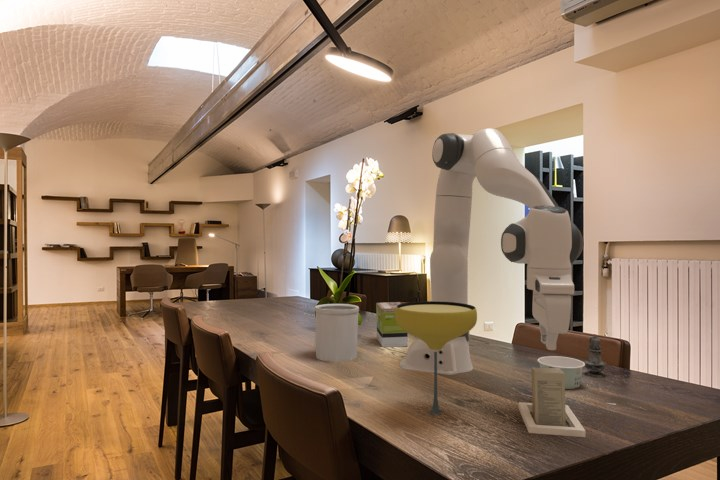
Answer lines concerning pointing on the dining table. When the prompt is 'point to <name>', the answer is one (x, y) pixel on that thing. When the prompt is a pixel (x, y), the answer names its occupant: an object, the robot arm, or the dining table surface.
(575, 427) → the beige flat frame
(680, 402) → the dining table surface
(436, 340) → the cocktail glass
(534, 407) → the skincare box
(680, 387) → the dining table surface
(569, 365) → the food container
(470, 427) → the dining table surface
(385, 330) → the tea box
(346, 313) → the utensil holder
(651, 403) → the dining table surface
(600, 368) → the grey tiered upright piece
